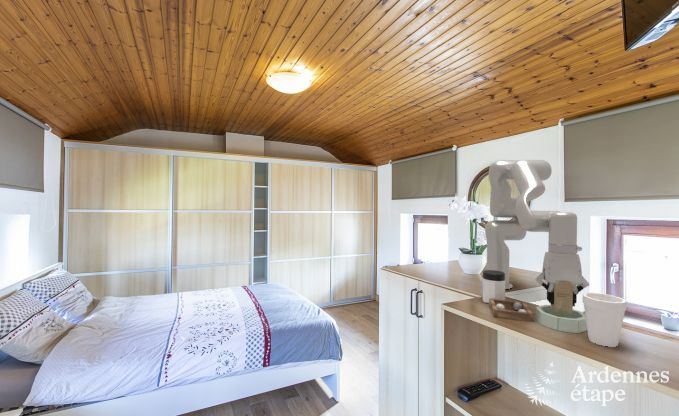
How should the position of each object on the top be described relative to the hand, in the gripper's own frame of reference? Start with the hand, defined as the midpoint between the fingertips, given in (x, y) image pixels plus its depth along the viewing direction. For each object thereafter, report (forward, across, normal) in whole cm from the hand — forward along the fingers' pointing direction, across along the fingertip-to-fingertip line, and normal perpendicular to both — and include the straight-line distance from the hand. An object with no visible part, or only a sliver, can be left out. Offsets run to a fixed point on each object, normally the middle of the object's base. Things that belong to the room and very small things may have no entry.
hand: (561, 303), depth 100 cm
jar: (+7, +18, -17) cm, 26 cm away
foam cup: (+7, -7, +11) cm, 15 cm away
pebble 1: (+4, +17, -6) cm, 19 cm away
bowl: (+7, 0, 0) cm, 7 cm away
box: (+3, 0, 0) cm, 3 cm away
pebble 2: (+7, +11, -9) cm, 16 cm away
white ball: (+7, +11, -2) cm, 13 cm away
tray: (+7, +14, -6) cm, 17 cm away
